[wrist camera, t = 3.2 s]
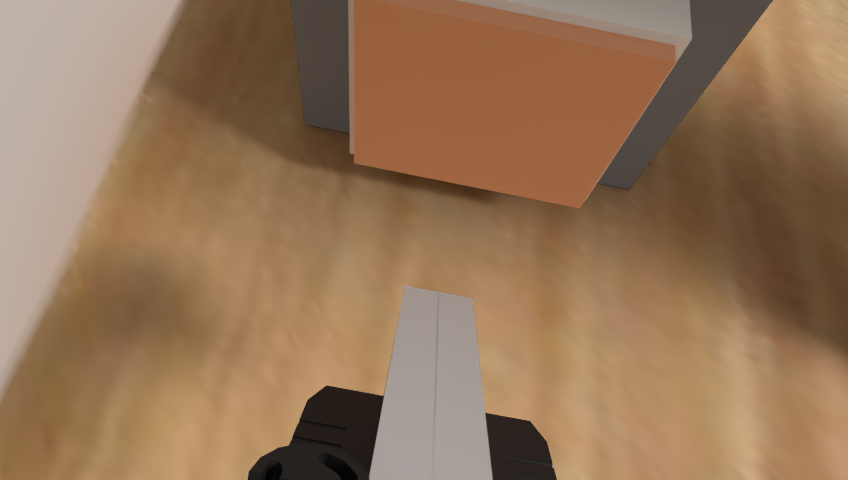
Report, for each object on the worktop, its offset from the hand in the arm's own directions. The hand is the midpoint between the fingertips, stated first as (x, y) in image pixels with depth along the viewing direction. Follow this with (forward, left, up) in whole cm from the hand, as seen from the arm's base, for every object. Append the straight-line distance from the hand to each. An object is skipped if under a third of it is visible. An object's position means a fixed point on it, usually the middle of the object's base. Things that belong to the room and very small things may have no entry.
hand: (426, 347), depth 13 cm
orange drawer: (-11, -5, -6) cm, 13 cm away
